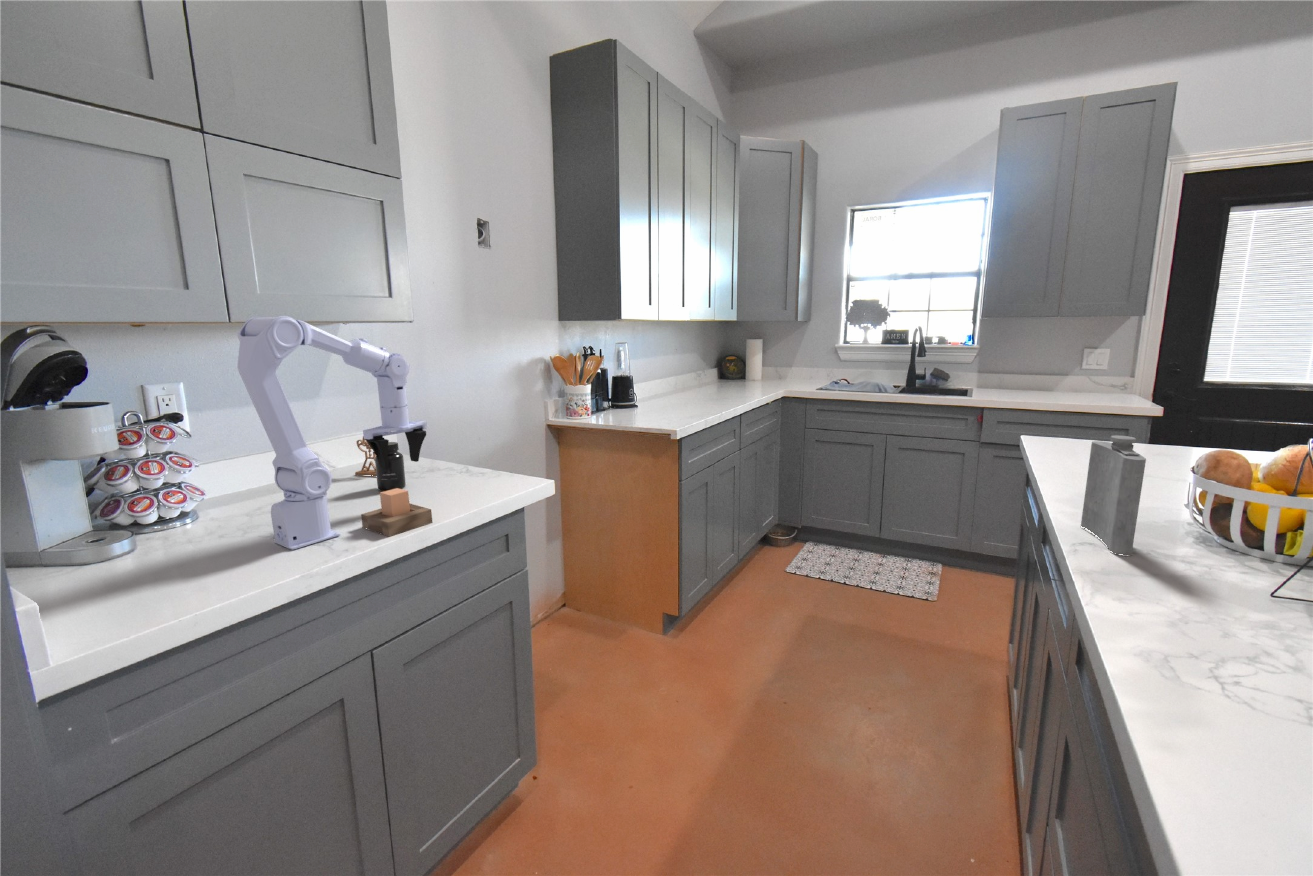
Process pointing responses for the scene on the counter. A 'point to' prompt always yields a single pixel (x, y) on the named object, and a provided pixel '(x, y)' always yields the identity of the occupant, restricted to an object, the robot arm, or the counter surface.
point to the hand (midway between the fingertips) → (400, 464)
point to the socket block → (396, 520)
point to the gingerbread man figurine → (366, 470)
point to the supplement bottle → (391, 470)
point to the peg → (394, 502)
